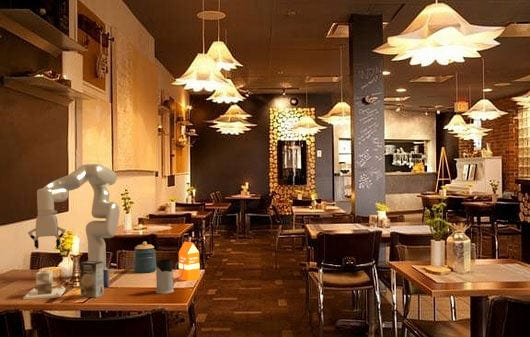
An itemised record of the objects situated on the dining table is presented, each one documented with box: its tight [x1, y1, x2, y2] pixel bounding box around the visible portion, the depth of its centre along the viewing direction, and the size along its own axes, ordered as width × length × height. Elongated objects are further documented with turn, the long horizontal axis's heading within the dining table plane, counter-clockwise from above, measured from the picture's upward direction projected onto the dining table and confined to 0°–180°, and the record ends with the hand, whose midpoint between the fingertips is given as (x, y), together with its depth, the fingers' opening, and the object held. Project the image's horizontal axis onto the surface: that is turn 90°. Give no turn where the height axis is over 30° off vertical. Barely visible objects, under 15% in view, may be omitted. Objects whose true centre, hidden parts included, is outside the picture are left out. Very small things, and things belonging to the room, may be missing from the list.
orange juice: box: [178, 241, 201, 282], centre depth 288 cm, size 8×9×20 cm
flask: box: [103, 268, 111, 288], centre depth 274 cm, size 9×3×11 cm, turn 68°
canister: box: [133, 241, 157, 274], centre depth 314 cm, size 13×13×18 cm
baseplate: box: [22, 286, 66, 300], centre depth 258 cm, size 16×16×2 cm
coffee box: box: [79, 260, 105, 298], centre depth 253 cm, size 9×6×16 cm
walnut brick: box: [37, 281, 53, 295], centre depth 258 cm, size 6×8×5 cm
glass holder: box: [155, 258, 184, 295], centre depth 260 cm, size 9×14×15 cm, turn 113°
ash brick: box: [35, 269, 54, 285], centre depth 257 cm, size 6×8×5 cm
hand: (47, 247), depth 264 cm, fingers open, 9 cm apart
